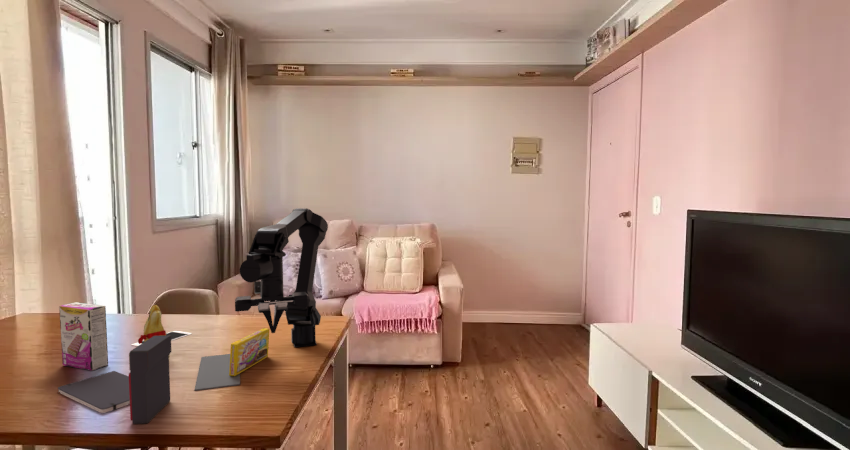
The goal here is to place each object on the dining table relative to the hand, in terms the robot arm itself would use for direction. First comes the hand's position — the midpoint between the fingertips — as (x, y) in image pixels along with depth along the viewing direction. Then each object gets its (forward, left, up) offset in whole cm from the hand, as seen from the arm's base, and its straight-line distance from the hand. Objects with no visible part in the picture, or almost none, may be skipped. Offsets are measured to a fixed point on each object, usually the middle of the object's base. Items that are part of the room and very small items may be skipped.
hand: (273, 332), depth 133 cm
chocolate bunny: (+31, -16, -9) cm, 36 cm away
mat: (+14, 0, -9) cm, 16 cm away
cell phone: (+31, -35, -9) cm, 48 cm away
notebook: (+37, +6, -9) cm, 39 cm away
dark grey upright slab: (+26, +21, -9) cm, 35 cm away
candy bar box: (+47, -16, -9) cm, 50 cm away
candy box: (+6, 0, -9) cm, 10 cm away
